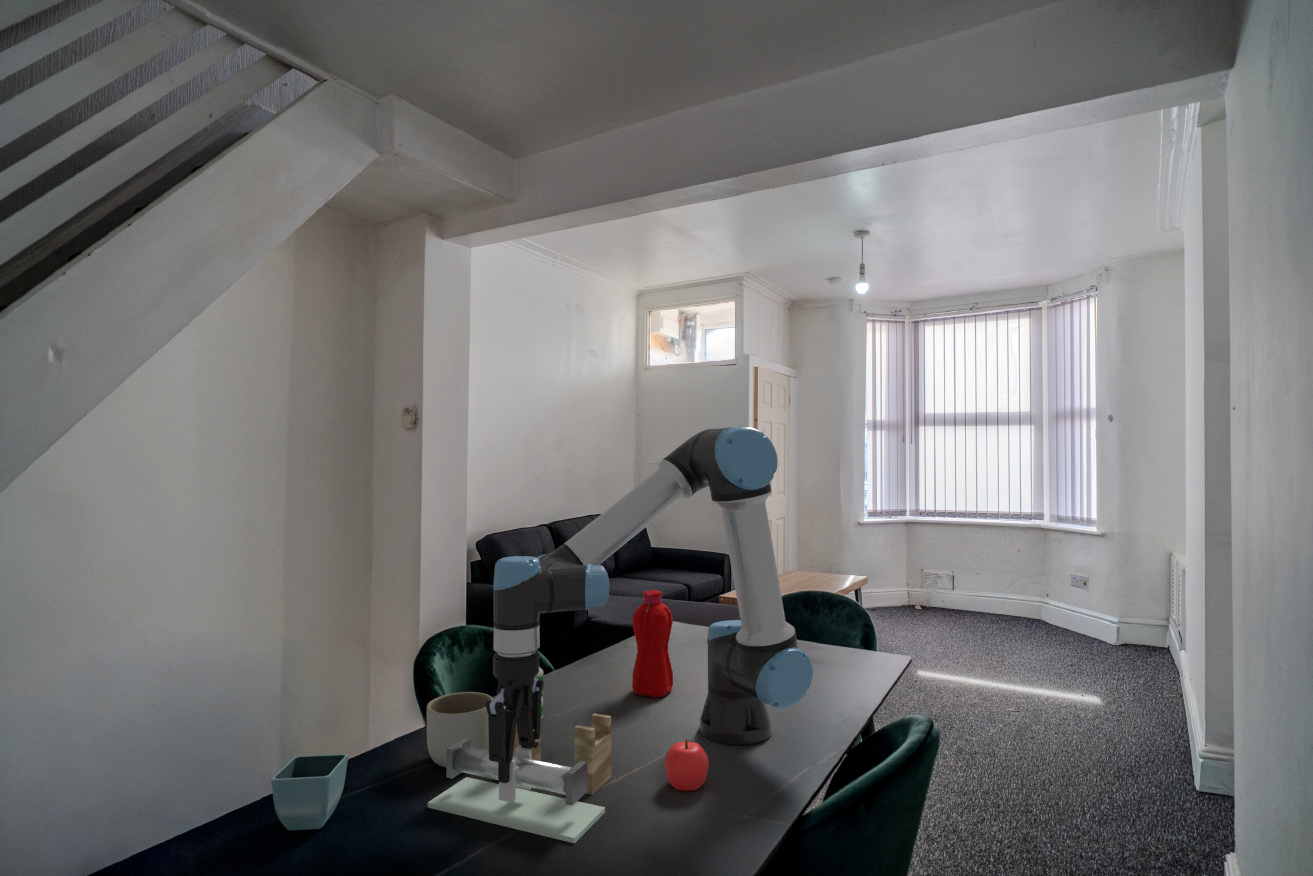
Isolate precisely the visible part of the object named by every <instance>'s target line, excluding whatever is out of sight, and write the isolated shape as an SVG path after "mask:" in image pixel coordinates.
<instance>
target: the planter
mask: <svg viewBox="0 0 1313 876" xmlns="http://www.w3.org/2000/svg"><path fill="white" fill-rule="evenodd" d="M488 700H491V701H493V700H494V698H493V696H491V695H489V694H487V693H483V692H476V691H461V692H453V693H447V694H444V695H441V696H438V697H435V698H434V699H432V700H430V701H429V702H428V703H427V704H426V745H427V750H428V754H429V756H430V758H431V760H432V761H433V762H434V763H435V764H436V765H438V766H439V767H441V768H446V766H447V748H449V747H450V746H452V745H454V744H456V743H457V742H459V741H461V740H463V739H464V738H467V739H471V742H470V747H472V748H477V749H482V750H487V751H489V730H488V713H487V709H486V702H487V701H488Z"/></svg>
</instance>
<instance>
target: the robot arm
mask: <svg viewBox="0 0 1313 876" xmlns="http://www.w3.org/2000/svg"><path fill="white" fill-rule="evenodd" d="M778 463H779V461H778V454H777V450H776V447H775V445H774V443H773V442H772V441H771V439H770V437H768V436H767V435H766V434H765V433H764V432H762V431H760V430H759V429H757V428H754V427H750V426H741V425H736V426H730V427H729V426H728V427H720V428H707V429H705V430H702V431H698V432H697V433H695V434H694V435H692V436H691V437H689V438H688V439H687V440H686V441H684V442H683V443H682V444H680V445H679V446H678V447H676V448H675V449H674V450H672V451H671V453H668V455H666V456H665V457H664V458H663V459H661V460H660V461H659V463H658V469H657V470H655V471H654V472H652V474H650V475H649V476H648V477H646V478H645V479H644V480H643V481H642V482H640V483H639V484H638V485H636V486H635V487H634V488H632V489H631V490H630V491H629V492H627V493H626V494H625V495H624V496H623V497H621V498H620V499H618V501H616V502H615V503H614V504H613V505H611V506H610V507H609V508H607V509H606V510H605V511H603V512H602V513H601V514H600V515H599V516H597V517H596V518H595V519H593V520H592V521H591V522H589V523H588V524H587V525H586V526H585V527H583V528H582V529H581V530H579V531H578V532H577V533H576V534H575V535H573V536H572V537H571V538H569V539H568V540H567V541H565V542H564V543H562V544H561V545H560V546H558V548H556V549H555V550H553V551H552V552H550V553H544V554H541V555H539V556H537V557H536V556H528V555H524V556H523V555H522V556H521V555H520V556H519V555H515V556H514V555H513V556H507V557H502V558H500V559H498V560H497V562H495V564H494V565H495V566H494V575H493V585H492V589H493V651H494V654H493V656H492V674H493V676H494V678H496V680H497V681H498V686H497V689H496V696H495V697H494V698H493V701H491V700H488V701H487V702H486V709H487V713H488V730H489V760H490V761H493V762H498V780H497V781H498V784H499V800H502V801H506V802H511V803H513V802H515V796H516V788H519V789H523V790H528V791H531V790H532V787H528V786H523V785H519V784H516V760H512V758H513V749H514V740H515V732H516V723H517V731H518V740H519V745H521V747H517V748H516V756H517V757H522V758H527V759H532V748H537V747H538V744H539V742H535V740H536V739H537V740H538V739H539V738H540V734H542V719H541V696H542V689H543V690H544V683H545V682H544V679H543V680H539V679H534V676H536V675H537V674H538V673H539V667H540V652H539V651H538V650H539V648H540V646H541V645H540V644H541V643H540V615H541V614H548V613H557V612H567V611H568V612H570V611H582V610H585V611H589V610H591V609H598V608H602V607H604V606H605V605H606V604H607V603H608V600H609V597H610V578H609V575H608V572H607V570H606V568H605V567H604V566H603V565H601V564H602V563H603V562H605V561H606V560H607V559H608V558H610V557H611V556H612V555H613V554H614V553H616V552H617V551H618V550H620V549H621V548H622V547H623V546H624V545H625V544H627V543H628V542H629V541H630V540H631V539H633V538H634V537H635V536H636V535H638V534H639V533H640V532H641V531H643V530H644V529H645V528H647V526H649V525H650V524H652V522H653V521H655V520H656V519H658V518H659V517H660V516H662V515H663V513H665V512H667V510H669V509H670V508H671V507H673V505H675V504H676V503H677V502H678V501H680V500H681V499H690V498H691V497H693V496H694V495H695V494H696V493H698V492H699V491H700V490H704V489H705V488H709V493H710V496H711V497H710V498H711V502H712V503H713V504H715V505H716V506H718V507H719V508H720V509H721V516H722V521H723V526H724V533H725V537H726V545H727V549H728V555H729V561H730V567H731V572H732V578H733V583H734V584H733V585H734V589H735V595H736V601H737V606H738V607H737V608H738V612H739V618H740V619H734V620H732V619H731V620H730V619H729V620H722V621H716V622H713V623H711V624H710V626H709V627H708V630H707V638H706V643H707V695H706V699H705V702H704V704H703V707H702V708H703V709H702V712H701V715H700V719H699V732H700V733H701V735H703V737H705V738H706V739H708V740H711V741H713V742H717V743H721V744H726V745H739V746H740V745H742V746H743V745H752V744H756V743H762V742H763V741H765V740H767V739H769V738H770V737H771V735H772V720H771V717H770V713H769V710H768V707H767V705H769V706H771V707H773V708H777V709H785V708H790V707H793V706H795V705H796V704H798V703H799V702H800V701H801V700H802V699H803V698H805V696H806V693H807V692H808V690H810V687H811V686H812V682H813V679H814V667H813V662H812V660H811V658H810V656H809V655H808V654H807V653H806V652H805V651H804V650H803V649H801V648H799V646H798V645H799V644H798V639H797V633H796V629H795V627H794V626H793V625H792V624H790V623H789V622H787V621H786V614H785V610H784V604H783V598H782V592H781V587H780V580H779V575H778V569H777V564H776V557H775V552H774V546H773V538H772V533H771V528H770V522H769V518H768V517H769V515H768V510H767V504H766V502H767V499H768V498H769V496H770V495H771V494H772V487H771V481H772V480H773V479H774V478H775V473H777V469H778ZM533 692H534V693H533ZM509 710H510V711H509ZM512 711H514V712H512ZM533 729H534V730H535V731H534V730H533Z"/></svg>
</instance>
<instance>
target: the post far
mask: <svg viewBox="0 0 1313 876" xmlns="http://www.w3.org/2000/svg"><path fill="white" fill-rule="evenodd" d="M533 730H534V729H533ZM534 731H535V730H534ZM541 734H542V733H541ZM541 734H540V738H539V739H538V740H537V739H536V740H535V742H539V744H538V747H537V748H532V760H537V761H541V759H542V758H541V757H542V754H541V753H542V749H541V747H542V745H541V744H542V743H541V742H542V735H541ZM517 747H521V745H519V740H518V731H517V723H516V732H515V740H514V749H513V756H516V748H517Z"/></svg>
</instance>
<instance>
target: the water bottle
mask: <svg viewBox="0 0 1313 876" xmlns="http://www.w3.org/2000/svg"><path fill="white" fill-rule="evenodd" d="M673 623H674V621H673V615H672V611H671V609H670V608H669V606H667V605H666V604H665V603H663V602H662V591H660V590H656V589H650V590H645V591H644V592H643V603H641V605H640V606H638V607H637V608H636V609H635V611H634V613H633V616H632V629H633V634H634V638H635V642H636V652H637V653H636V656H635V660H634V666H633V671H632V682H631V683H632V684H631V687H632V688H631V689H632V691H633V692H634V693H635V694H636V695H637V696H643V697H651V698H662V697H665V696H667V695H668V693H669V692H671V691H672V690H673V685H674V673H673V668H672V663H671V662H672V661H671V658H670V652H669V642H670V637H671V633H672V627H673Z"/></svg>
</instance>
